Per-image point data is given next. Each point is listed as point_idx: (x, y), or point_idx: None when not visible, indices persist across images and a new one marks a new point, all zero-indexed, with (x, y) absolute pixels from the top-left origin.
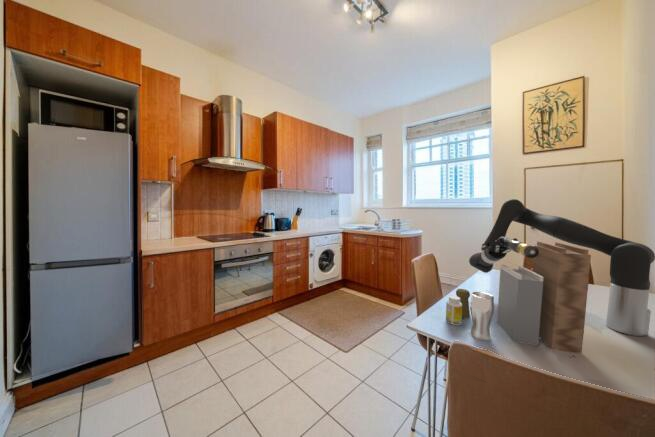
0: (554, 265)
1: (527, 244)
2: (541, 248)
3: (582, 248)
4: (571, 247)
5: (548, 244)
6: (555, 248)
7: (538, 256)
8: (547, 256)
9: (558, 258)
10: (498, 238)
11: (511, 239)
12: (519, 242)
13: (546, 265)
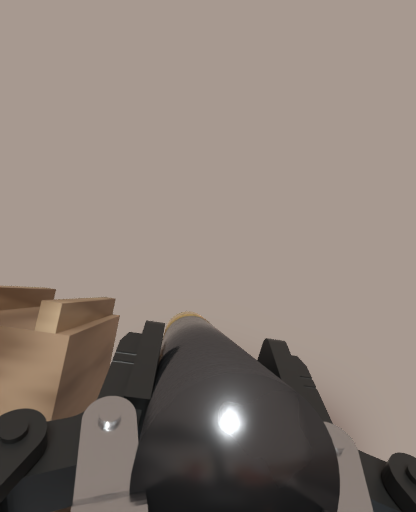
0: (105, 369)
1: (191, 313)
2: (91, 331)
3: (34, 287)
4: (26, 292)
5: (91, 300)
6: (105, 306)
7: (73, 391)
8: (99, 353)
9: (115, 335)
10: (325, 429)
11: (209, 329)
12: (202, 319)
13: (89, 398)
